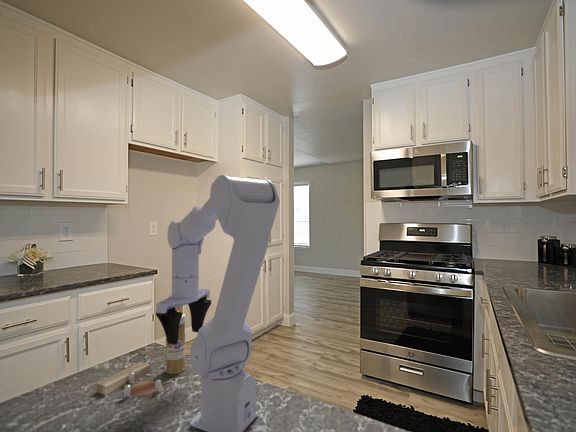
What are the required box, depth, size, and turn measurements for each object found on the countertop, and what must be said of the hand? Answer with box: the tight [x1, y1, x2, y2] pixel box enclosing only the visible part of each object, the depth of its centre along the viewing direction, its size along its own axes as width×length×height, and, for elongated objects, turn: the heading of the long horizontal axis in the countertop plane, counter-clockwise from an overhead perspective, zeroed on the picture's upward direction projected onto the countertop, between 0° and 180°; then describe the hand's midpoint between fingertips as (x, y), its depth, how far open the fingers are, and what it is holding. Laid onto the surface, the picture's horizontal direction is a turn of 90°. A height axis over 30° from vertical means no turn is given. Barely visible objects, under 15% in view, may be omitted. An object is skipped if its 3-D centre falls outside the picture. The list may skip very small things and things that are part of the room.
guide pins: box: [123, 372, 162, 400], centre depth 66 cm, size 9×5×2 cm, turn 65°
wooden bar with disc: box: [96, 361, 156, 397], centre depth 69 cm, size 11×11×2 cm
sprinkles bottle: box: [165, 313, 187, 375], centre depth 76 cm, size 5×5×14 cm
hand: (185, 337), depth 69 cm, fingers open, 7 cm apart
